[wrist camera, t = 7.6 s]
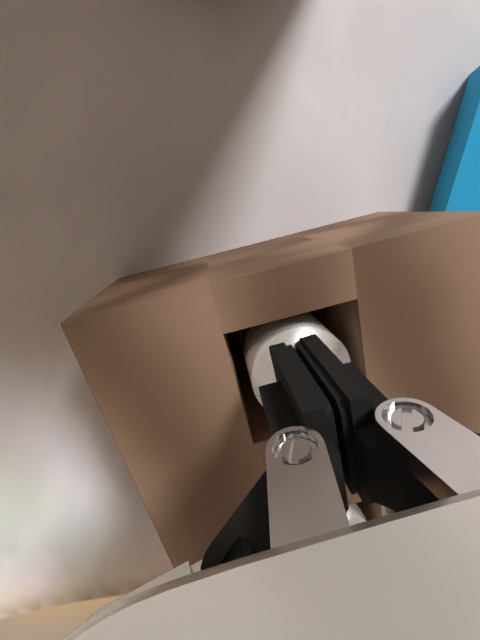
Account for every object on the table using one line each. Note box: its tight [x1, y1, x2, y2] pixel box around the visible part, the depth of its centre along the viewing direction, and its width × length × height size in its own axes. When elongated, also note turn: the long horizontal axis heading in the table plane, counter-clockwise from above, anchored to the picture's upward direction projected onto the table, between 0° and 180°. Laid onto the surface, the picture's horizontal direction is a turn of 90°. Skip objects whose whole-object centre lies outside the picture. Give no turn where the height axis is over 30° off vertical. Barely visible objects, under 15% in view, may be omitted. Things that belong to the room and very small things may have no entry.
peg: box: [237, 312, 351, 406], centre depth 14 cm, size 4×4×7 cm
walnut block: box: [61, 211, 480, 568], centre depth 16 cm, size 14×17×7 cm
